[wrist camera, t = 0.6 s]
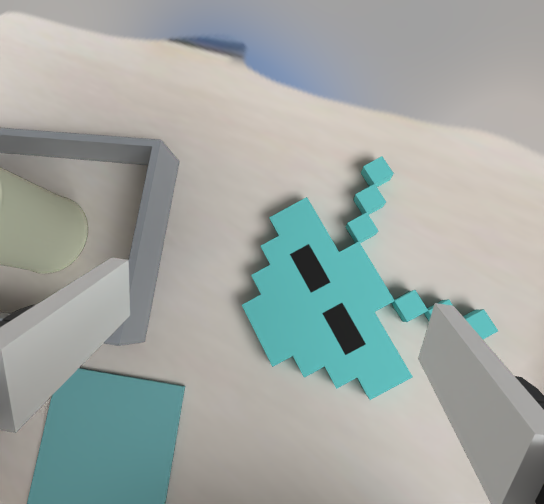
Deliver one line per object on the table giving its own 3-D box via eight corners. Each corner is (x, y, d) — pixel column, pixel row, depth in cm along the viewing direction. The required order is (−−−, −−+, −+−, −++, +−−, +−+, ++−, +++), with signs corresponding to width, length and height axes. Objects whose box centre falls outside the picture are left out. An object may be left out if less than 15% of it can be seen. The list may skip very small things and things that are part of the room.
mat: (159, 538, 33) (157, 541, 33) (28, 507, 35) (25, 510, 34) (185, 386, 35) (183, 386, 35) (61, 364, 37) (58, 365, 37)
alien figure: (377, 165, 38) (218, 251, 38) (382, 156, 36) (213, 247, 36) (486, 330, 34) (306, 426, 34) (498, 331, 32) (306, 434, 32)
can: (104, 225, 40) (17, 187, 28) (51, 289, 39) (-60, 278, 27) (51, 182, 41) (-52, 129, 30) (-1, 242, 41) (-126, 213, 29)
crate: (144, 341, 37) (119, 345, 32) (-77, 307, 40) (-131, 306, 35) (179, 161, 40) (161, 139, 35) (-28, 144, 44) (-70, 122, 39)
